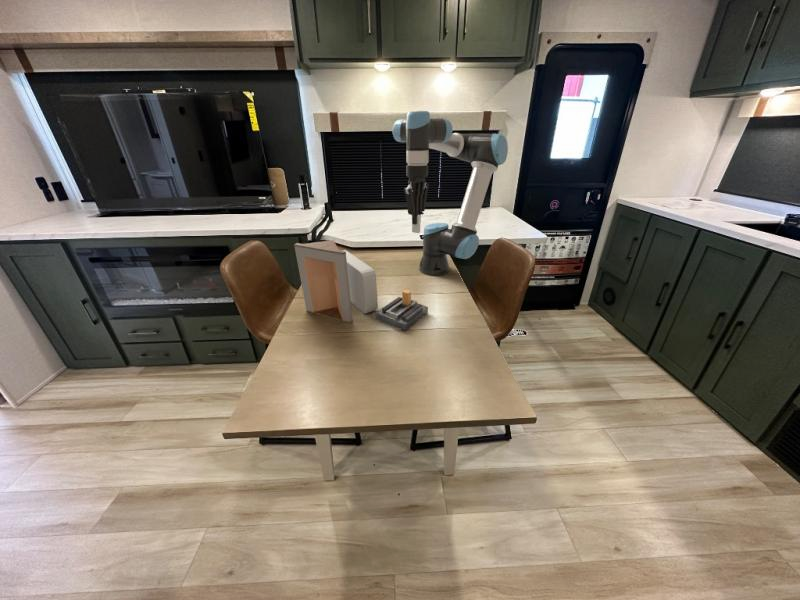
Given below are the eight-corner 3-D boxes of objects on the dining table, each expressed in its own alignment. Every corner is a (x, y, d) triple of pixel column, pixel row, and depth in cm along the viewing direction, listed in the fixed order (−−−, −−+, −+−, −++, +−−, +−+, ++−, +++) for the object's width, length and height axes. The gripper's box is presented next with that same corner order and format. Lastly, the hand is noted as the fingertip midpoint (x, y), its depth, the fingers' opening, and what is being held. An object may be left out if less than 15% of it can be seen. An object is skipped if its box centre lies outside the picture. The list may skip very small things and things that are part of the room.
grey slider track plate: (399, 299, 126) (399, 296, 125) (424, 308, 120) (424, 305, 119) (382, 311, 118) (382, 308, 118) (407, 321, 112) (407, 318, 111)
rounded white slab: (383, 310, 125) (381, 269, 116) (366, 316, 121) (363, 274, 112) (351, 284, 146) (348, 247, 137) (336, 288, 142) (331, 250, 133)
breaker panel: (399, 303, 130) (398, 293, 127) (427, 313, 122) (428, 303, 120) (375, 319, 119) (375, 309, 117) (405, 331, 112) (405, 320, 110)
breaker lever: (405, 303, 123) (405, 289, 120) (411, 305, 122) (411, 291, 119) (401, 306, 121) (401, 292, 118) (407, 308, 120) (407, 294, 117)
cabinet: (306, 311, 125) (294, 244, 111) (321, 300, 132) (311, 236, 119) (350, 323, 117) (342, 252, 103) (363, 311, 124) (358, 244, 111)
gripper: (418, 161, 112) (417, 226, 124) (396, 165, 103) (397, 234, 115) (436, 163, 108) (433, 229, 120) (415, 166, 99) (414, 238, 111)
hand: (416, 232), depth 117 cm, fingers closed
